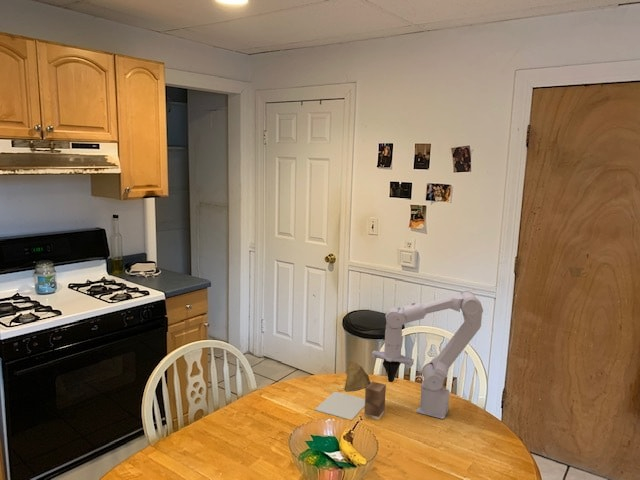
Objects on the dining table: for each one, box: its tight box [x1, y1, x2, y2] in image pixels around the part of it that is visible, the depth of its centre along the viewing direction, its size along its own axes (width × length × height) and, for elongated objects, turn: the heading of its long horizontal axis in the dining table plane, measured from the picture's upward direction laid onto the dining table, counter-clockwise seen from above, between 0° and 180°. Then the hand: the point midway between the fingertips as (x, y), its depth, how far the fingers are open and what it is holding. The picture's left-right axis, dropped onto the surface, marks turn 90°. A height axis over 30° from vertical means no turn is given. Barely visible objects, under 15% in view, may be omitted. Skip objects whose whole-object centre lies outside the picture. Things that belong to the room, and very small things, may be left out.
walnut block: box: [364, 381, 387, 421], centre depth 163 cm, size 5×6×10 cm
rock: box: [344, 361, 372, 392], centre depth 183 cm, size 11×9×10 cm
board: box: [313, 390, 365, 420], centre depth 169 cm, size 14×16×1 cm
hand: (391, 380), depth 167 cm, fingers closed
